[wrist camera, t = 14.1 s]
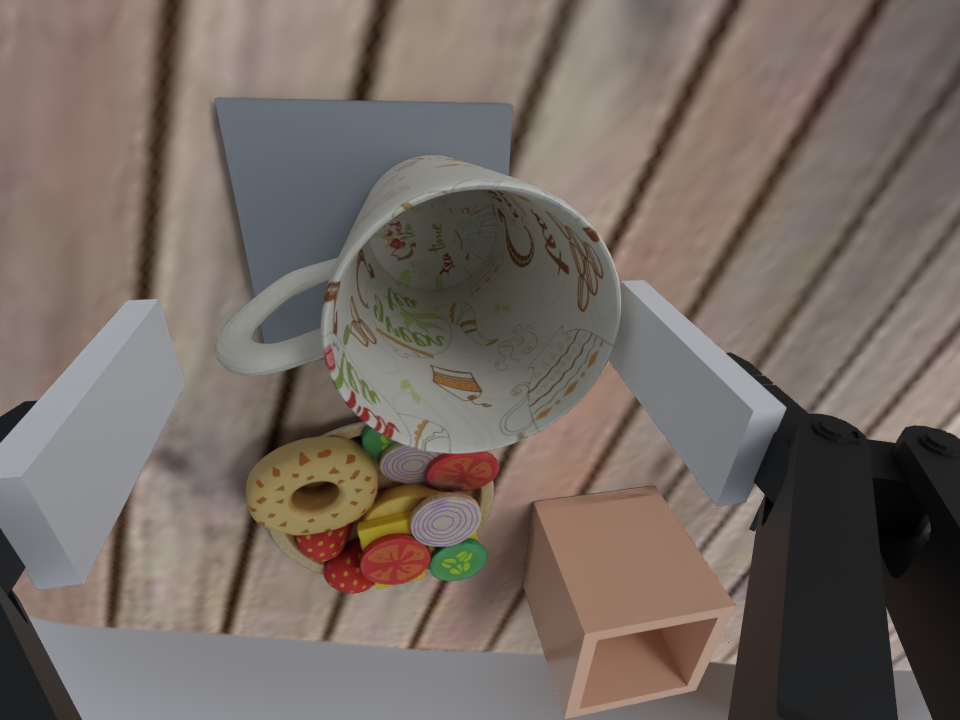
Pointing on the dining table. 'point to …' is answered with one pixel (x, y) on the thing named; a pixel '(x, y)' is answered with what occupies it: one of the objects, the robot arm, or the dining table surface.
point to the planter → (620, 599)
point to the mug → (451, 309)
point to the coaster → (333, 176)
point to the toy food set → (373, 507)
